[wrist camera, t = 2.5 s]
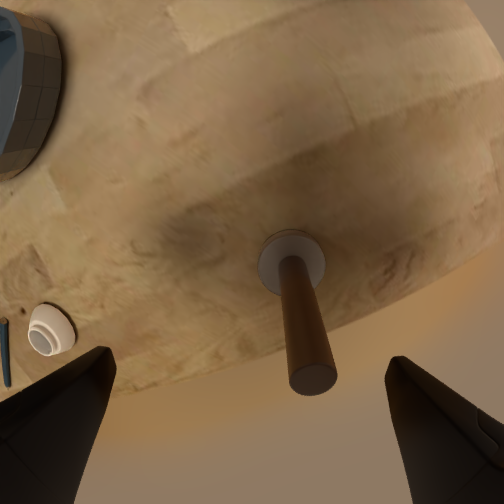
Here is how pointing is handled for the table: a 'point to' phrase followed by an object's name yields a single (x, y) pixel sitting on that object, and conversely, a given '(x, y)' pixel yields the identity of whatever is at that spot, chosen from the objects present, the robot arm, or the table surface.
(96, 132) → the table surface
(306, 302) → the wooden dowel with disc
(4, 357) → the pencil
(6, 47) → the bowl
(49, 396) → the robot arm
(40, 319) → the lidless jar
